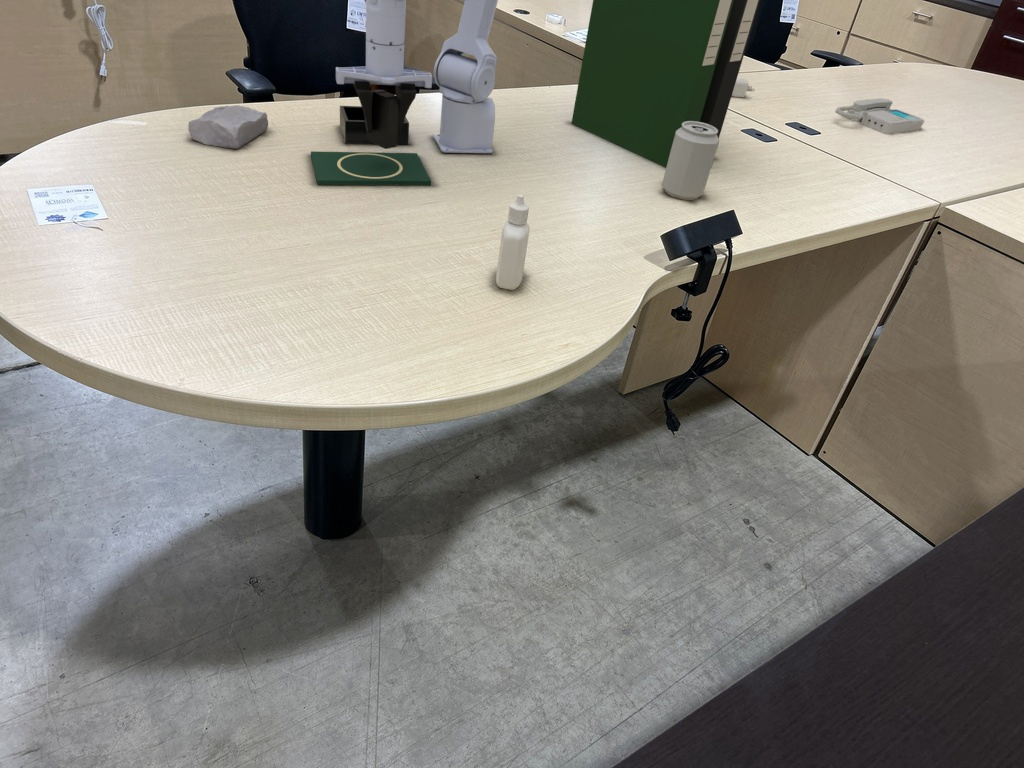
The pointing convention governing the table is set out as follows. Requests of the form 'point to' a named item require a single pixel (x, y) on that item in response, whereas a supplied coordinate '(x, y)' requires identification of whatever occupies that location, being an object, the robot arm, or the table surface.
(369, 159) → the desk mat
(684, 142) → the can
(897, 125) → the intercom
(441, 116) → the robot arm
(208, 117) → the stone block
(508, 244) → the eye dropper bottle
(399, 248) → the table surface
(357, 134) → the pen tray
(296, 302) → the table surface
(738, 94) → the usb wall charger
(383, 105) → the ink cartridge
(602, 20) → the binder
